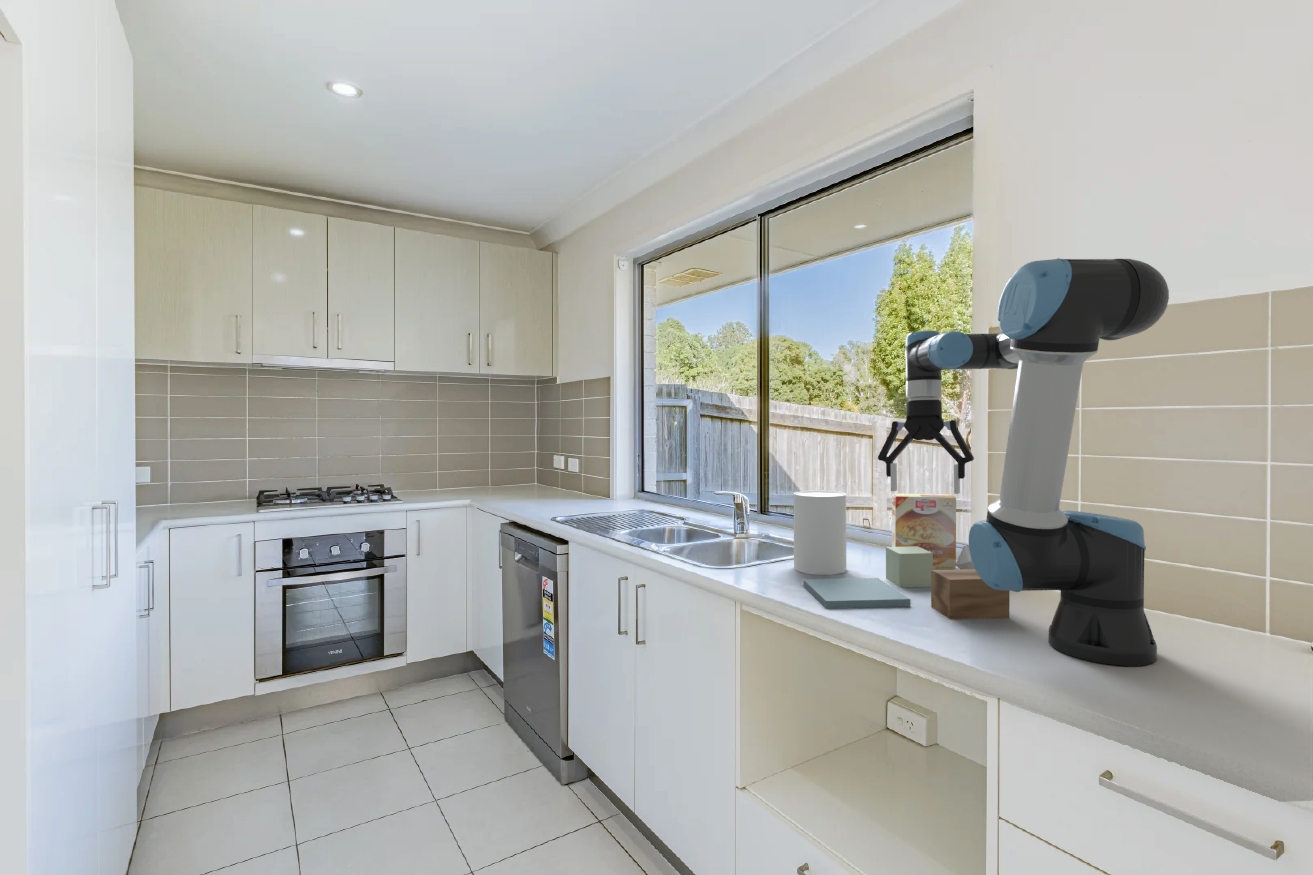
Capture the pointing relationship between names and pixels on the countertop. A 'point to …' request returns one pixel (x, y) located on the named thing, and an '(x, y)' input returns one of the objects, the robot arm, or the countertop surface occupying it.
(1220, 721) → the countertop surface
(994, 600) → the walnut block
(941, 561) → the coffeecake box
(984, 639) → the countertop surface
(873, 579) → the base board
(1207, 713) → the countertop surface
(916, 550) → the sage block
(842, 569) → the canister
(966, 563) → the die
